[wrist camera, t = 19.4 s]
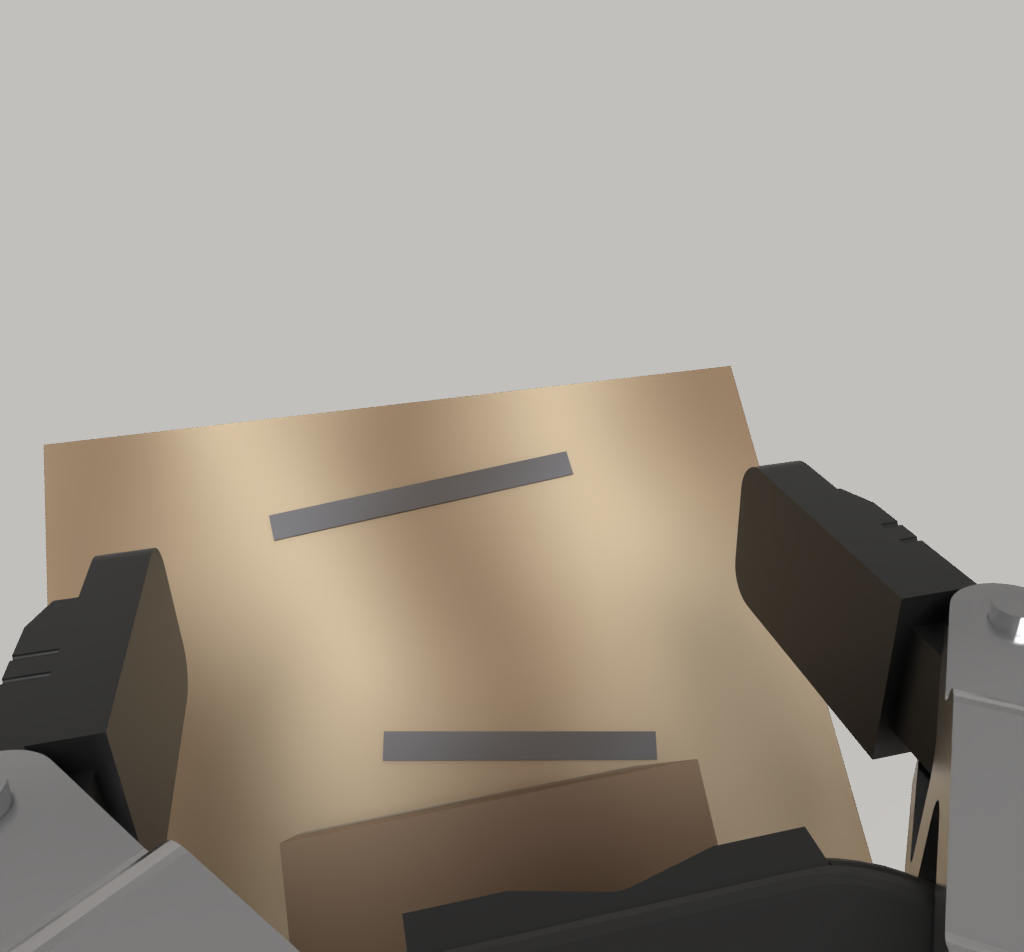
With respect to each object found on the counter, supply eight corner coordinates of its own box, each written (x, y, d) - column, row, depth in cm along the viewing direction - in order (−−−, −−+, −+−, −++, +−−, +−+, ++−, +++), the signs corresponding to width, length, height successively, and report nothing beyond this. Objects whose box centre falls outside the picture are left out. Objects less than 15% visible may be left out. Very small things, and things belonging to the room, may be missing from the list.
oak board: (114, 1830, 13) (78, 1966, 11) (69, 472, 19) (42, 443, 17) (1008, 1492, 15) (1075, 1566, 14) (708, 394, 21) (731, 364, 20)
